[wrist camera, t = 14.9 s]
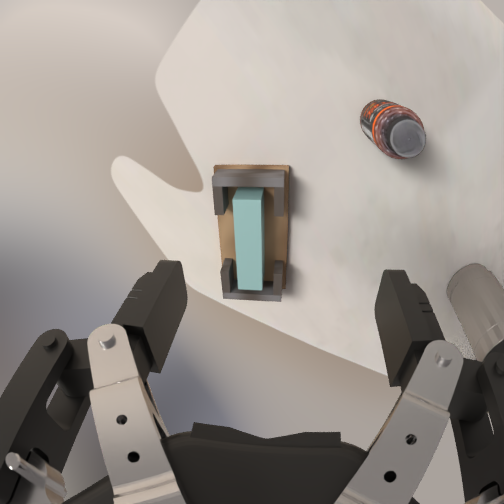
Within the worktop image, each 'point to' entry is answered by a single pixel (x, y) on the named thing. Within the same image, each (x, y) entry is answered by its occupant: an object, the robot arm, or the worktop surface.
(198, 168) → the worktop surface
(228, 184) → the endcap board
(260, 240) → the teal rectangular block
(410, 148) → the supplement bottle
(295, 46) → the worktop surface
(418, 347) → the robot arm
